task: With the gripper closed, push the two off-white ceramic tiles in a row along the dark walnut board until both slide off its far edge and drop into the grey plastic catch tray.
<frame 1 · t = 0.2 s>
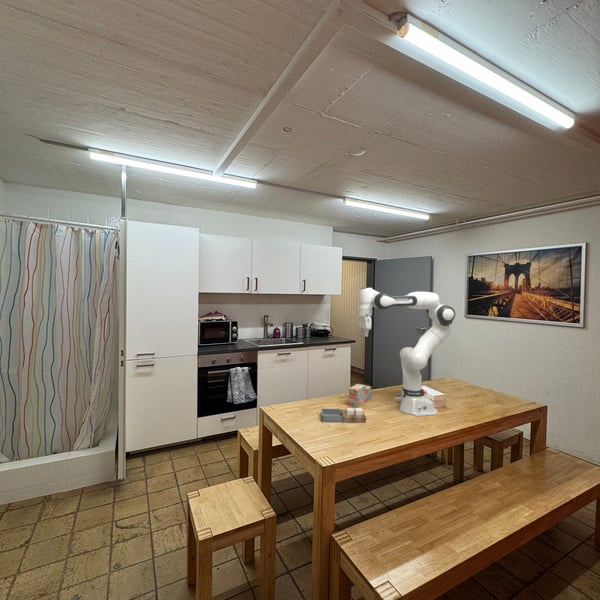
hand: (364, 335, 195), 47 cm above the table, fingers open, 8 cm apart
tile far: (350, 413, 182), point 3 cm above the table, touching board
tray: (331, 418, 182), on the table
board: (352, 418, 182), on the table
tile near: (358, 413, 182), point 3 cm above the table, touching board
stack of blocks: (360, 403, 208), on the table
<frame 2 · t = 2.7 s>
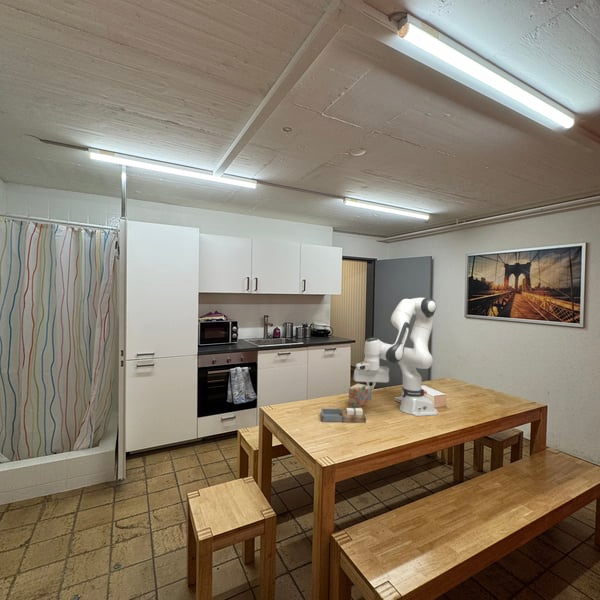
hand: (370, 389, 181), 17 cm above the table, fingers closed
nothing on the table moved.
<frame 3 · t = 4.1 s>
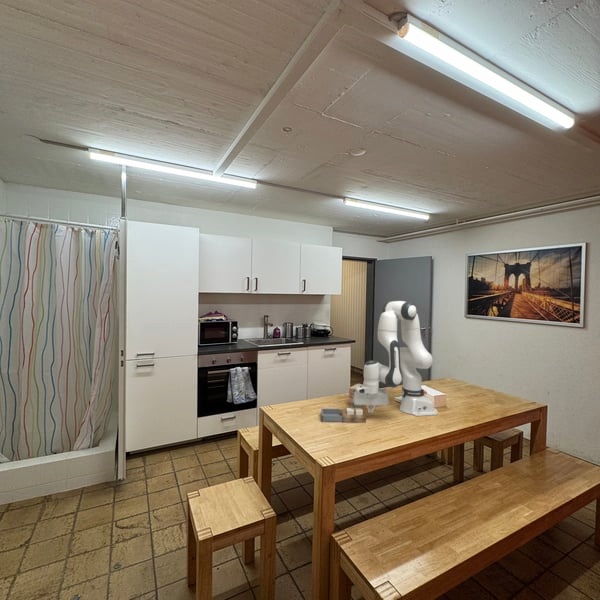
hand: (370, 412, 182), 4 cm above the table, fingers closed
nothing on the table moved.
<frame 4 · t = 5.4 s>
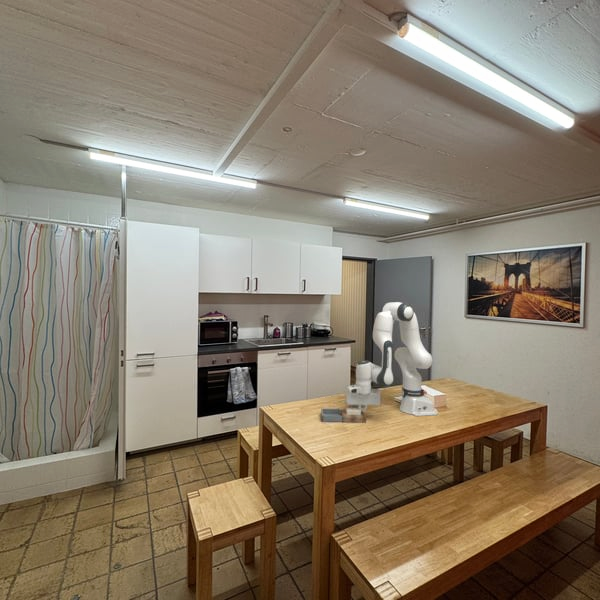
hand: (362, 411, 182), 4 cm above the table, fingers closed
tile far: (349, 413, 182), point 3 cm above the table, touching board, tile near
tile near: (356, 413, 182), point 3 cm above the table, touching gripper, tile far
everything else where it was.
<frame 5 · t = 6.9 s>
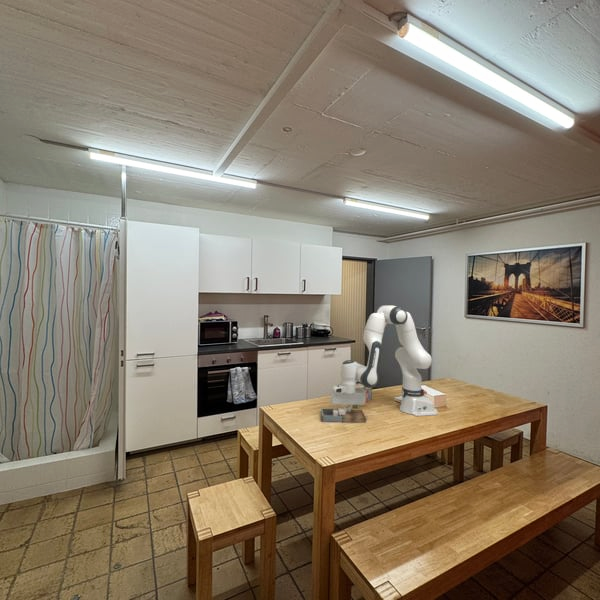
hand: (347, 411, 182), 4 cm above the table, fingers closed
tile far: (337, 414, 182), point 2 cm above the table, tilted 90°, touching tray
tile near: (341, 413, 182), point 3 cm above the table, touching board, gripper
everything else where it was.
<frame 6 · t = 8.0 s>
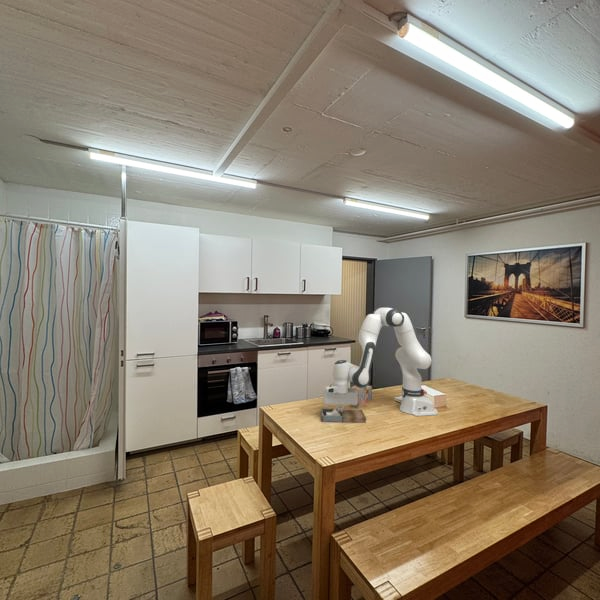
hand: (340, 411, 182), 4 cm above the table, fingers closed
tile far: (329, 413, 182), point 3 cm above the table, tilted 180°, touching tile near, tray
tile near: (334, 414, 182), point 2 cm above the table, tilted 47°, touching gripper, tile far, tray
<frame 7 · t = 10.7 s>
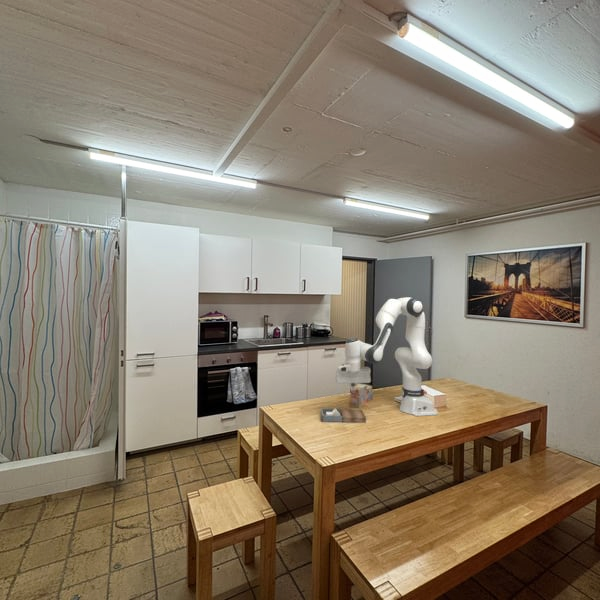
hand: (353, 390, 182), 17 cm above the table, fingers closed
tile near: (334, 414, 182), point 2 cm above the table, tilted 47°, touching tile far, tray
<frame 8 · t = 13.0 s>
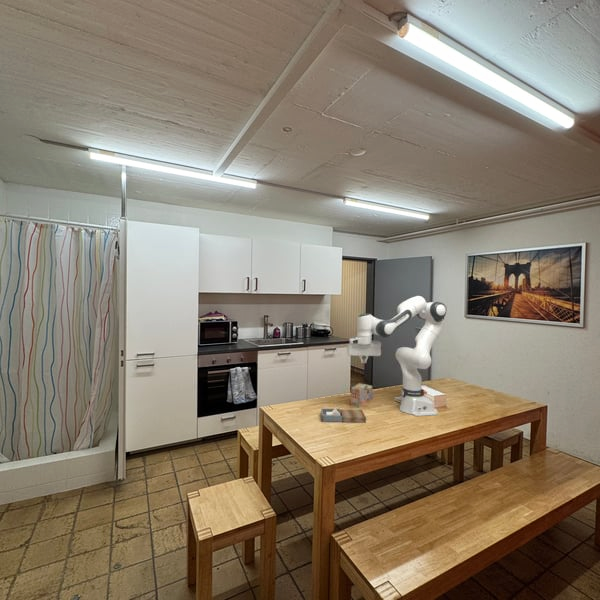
hand: (363, 362, 189), 31 cm above the table, fingers closed
at the end: tile near inside the target area (2.5 cm from its centre), point 2.0 cm above the table; tile far inside the target area (0.5 cm from its centre), point 3.0 cm above the table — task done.
